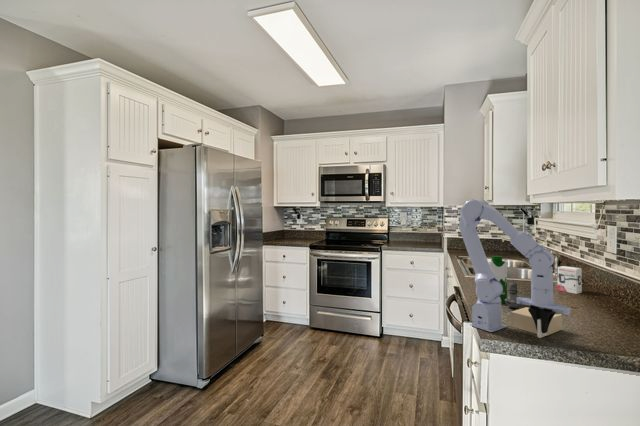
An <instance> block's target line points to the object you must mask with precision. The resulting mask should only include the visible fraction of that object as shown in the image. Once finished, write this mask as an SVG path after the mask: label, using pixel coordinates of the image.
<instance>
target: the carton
mask: <svg viewBox="0 0 640 426" xmlns="http://www.w3.org/2000/svg"><path fill="white" fill-rule="evenodd" d="M529 308H530V307H527V306H526V307H522V308H519V309H518V310H515V311H510V327H512V328H515V329H520V330H522V331H526V332H529V333H531V334H532V333H533V334H536V335H537V329H536V326H535V322H534V320H533V318H532V316H531V314H530V312H529V311H528V309H529ZM555 315H557V313H555ZM555 315H554V316H555Z"/></svg>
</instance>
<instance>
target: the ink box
mask: <svg viewBox="0 0 640 426" xmlns="http://www.w3.org/2000/svg"><path fill="white" fill-rule="evenodd" d="M582 271H583V270H582V268H581V267H573V266H566V265H562V266H557V280H556V281H557V287H556V289H557V291H560V292H565V293H570V294H581V293H582V289H583V288H582V284H583V283H582V278H583V277H582V275H583V273H582Z"/></svg>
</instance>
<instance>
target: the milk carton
mask: <svg viewBox="0 0 640 426" xmlns="http://www.w3.org/2000/svg"><path fill="white" fill-rule="evenodd" d="M487 260H488V263H489V266H490V269H491V271H492V272H493V273H494V274H495V276H496V278H497V280H498V281H499V282H500V283H501V284H502V286H503V292H502V294H501V295H500V296H499V297H500V299H501V304H506V302H505V299H507V298H508V265H509V264H508V261H507V260H504V259H503V256H502V255H491V258H487Z"/></svg>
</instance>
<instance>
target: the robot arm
mask: <svg viewBox="0 0 640 426" xmlns="http://www.w3.org/2000/svg"><path fill="white" fill-rule="evenodd" d="M482 220H485V221H489V222H491V223H493V224H494V225H495V226H496V227H497V228H498V229H500V230H501V231H502V232H503V233H504V234H506V235H507V236H508V237H509V241H510V242H509V243H510V244H511V245H512V246H513V247H514V248H515V249H516V250H517V251H518V252H519V253H521V255H523V256H524V257H525V258H526V259H528V263H529V265H530V266H531V273H530V280H531V281H530V298H529V297H523V296H519V297H518V296H517V298H516V300H517V304H520V305H525V306H529V307H528V308H529V309H528V311H529V312H530V314H531V316H532V318H533V320H534V322H535V326H536V329H537V319H540V318H541V330H542V333H546V332H547V331H548V327H549V324H550V322H551V320H552V318H553V316H554V315H555V314H557V313H558V314H562V315H565V316H570V315H571V311H572V308H571V307H570V306H565V305H562V304H559V303H555V302H554V273H553V272H554V269H553V266H552V265H553V264H554V262H555V255H554V254H553V253H552V251H551V250H549V249H547V248H546V247H545V246H544V245H543V244H540V243H539V242H538V241H536V240H535V239H534V238H533V234H532V233H531V232H528V233H527V231H523V230H519V229H517V228H516V227H515V226H514V225H513V224H512V223H511V222H510V221H508V219H507V218H506V217H504V215H502V213H500V211H498V209H496V208H495V207H494V206H493V205H491V204H489V202H487V201H486V200H484V199H474V198H473V199H472V198H471V199H468V200H466V201H465V202H464V203H463V205H462V206H461V208H460V216H459V224H458V227H459V231H460V234H461V237H462V241H463V243H464V245H465V248H466V249H465V250H466V251H467V254H468V257H469V259H470V263H471V265H472V269H473V272H474V274H475V277H474V283H475V294H476V297H477V301H476V303H474V304H473V305H472V308H471V323H469V326H471V327H473V328H477V329H481V330H483V331H487V332H489V333H493V332H497V331H499V330H502V329H505V328H507V327H508V325H506V324H503V323H502V303H501V299H500V297H499V296H500V295H501V294H502V292H503V286H502V284H501V283H500V282H499V281H498V280H497V278H496V276H495V274H494V273H493V272H492V271H491V269H490V266H489V263H488V260H487V259H488V257H487V256H486V252H485V250H484V246H483V244H482V242H481V239H480V236H479V233H478V231H477V226H478V225H479V223H480V221H482Z"/></svg>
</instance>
